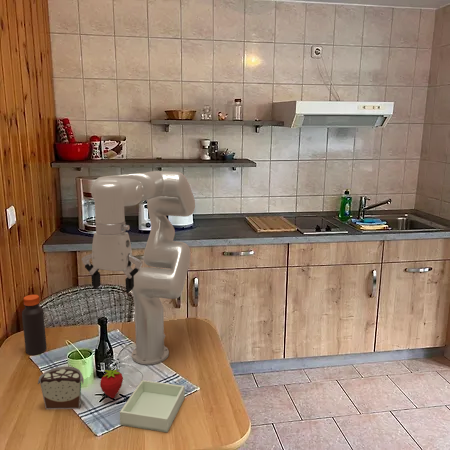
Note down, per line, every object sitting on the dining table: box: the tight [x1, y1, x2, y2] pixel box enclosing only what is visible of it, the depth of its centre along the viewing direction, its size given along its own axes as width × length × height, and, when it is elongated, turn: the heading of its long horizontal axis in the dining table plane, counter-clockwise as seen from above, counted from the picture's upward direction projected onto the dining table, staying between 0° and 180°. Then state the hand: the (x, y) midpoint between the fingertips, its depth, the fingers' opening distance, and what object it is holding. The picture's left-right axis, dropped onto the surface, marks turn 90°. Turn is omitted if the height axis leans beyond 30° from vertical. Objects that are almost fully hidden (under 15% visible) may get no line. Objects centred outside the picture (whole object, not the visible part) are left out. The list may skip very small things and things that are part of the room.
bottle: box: [21, 294, 48, 356], centre depth 154 cm, size 7×7×20 cm
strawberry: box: [99, 365, 124, 399], centre depth 130 cm, size 6×8×10 cm
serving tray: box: [119, 379, 186, 433], centre depth 125 cm, size 15×13×4 cm
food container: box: [37, 365, 85, 410], centre depth 127 cm, size 12×6×10 cm, turn 92°
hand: (113, 289), depth 123 cm, fingers open, 9 cm apart
